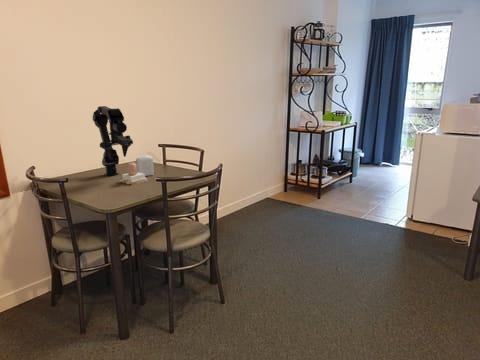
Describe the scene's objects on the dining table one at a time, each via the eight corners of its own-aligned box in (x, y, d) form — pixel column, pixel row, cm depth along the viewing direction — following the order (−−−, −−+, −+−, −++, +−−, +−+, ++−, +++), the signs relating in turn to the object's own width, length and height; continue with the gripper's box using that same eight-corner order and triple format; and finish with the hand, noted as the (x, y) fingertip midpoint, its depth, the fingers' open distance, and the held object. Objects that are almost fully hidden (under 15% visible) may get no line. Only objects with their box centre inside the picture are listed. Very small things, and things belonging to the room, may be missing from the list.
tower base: (120, 183, 208) (119, 179, 207) (135, 179, 216) (135, 175, 216) (132, 186, 202) (132, 182, 201) (147, 182, 210) (147, 178, 210)
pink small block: (126, 174, 206) (124, 165, 203) (131, 171, 210) (129, 161, 207) (134, 176, 204) (132, 166, 202) (139, 172, 209) (137, 162, 206)
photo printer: (152, 173, 226) (151, 154, 223) (155, 175, 223) (153, 155, 219) (136, 176, 221) (134, 156, 217) (138, 177, 217) (137, 157, 214)
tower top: (122, 178, 208) (122, 174, 207) (135, 175, 215) (135, 171, 214) (131, 181, 202) (131, 177, 202) (145, 178, 209) (144, 174, 209)
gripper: (109, 134, 193) (112, 162, 197) (138, 130, 208) (140, 156, 212) (97, 132, 200) (100, 160, 204) (125, 128, 214) (128, 154, 218)
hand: (118, 157), depth 209 cm, fingers open, 9 cm apart
